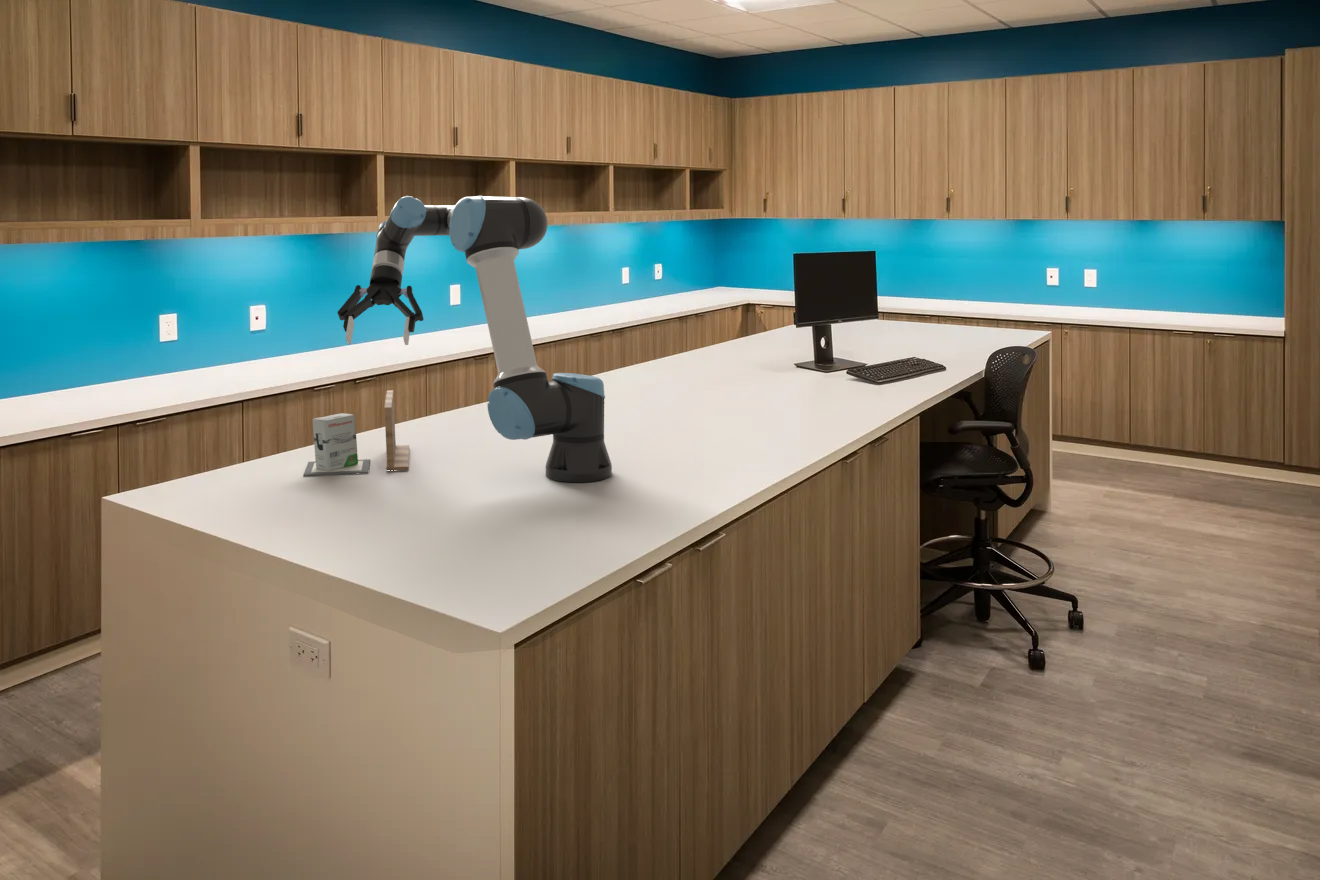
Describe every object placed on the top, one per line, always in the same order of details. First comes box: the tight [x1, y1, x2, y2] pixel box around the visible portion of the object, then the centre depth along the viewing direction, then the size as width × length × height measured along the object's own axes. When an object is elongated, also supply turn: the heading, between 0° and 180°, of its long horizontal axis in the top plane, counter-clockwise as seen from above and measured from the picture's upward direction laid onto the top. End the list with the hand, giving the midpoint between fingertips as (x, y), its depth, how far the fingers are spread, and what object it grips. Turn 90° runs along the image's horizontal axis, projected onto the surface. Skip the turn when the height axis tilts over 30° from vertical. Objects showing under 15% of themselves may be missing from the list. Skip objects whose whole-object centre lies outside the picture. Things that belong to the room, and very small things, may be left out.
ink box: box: [312, 412, 359, 471], centre depth 240 cm, size 9×5×12 cm, turn 143°
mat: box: [303, 458, 371, 477], centre depth 241 cm, size 12×14×1 cm
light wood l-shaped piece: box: [383, 389, 410, 472], centre depth 248 cm, size 22×5×15 cm, turn 13°
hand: (376, 341), depth 249 cm, fingers open, 13 cm apart
